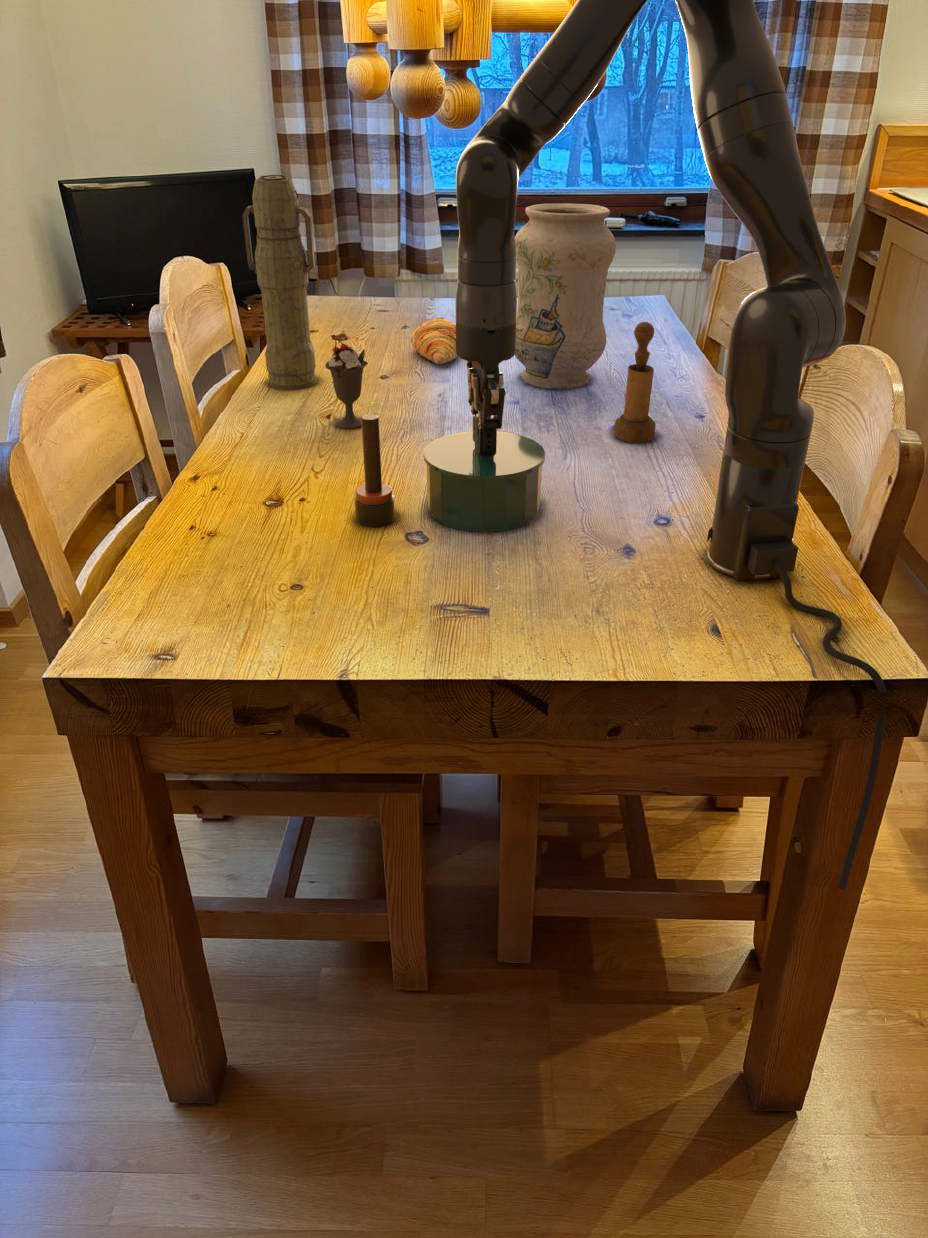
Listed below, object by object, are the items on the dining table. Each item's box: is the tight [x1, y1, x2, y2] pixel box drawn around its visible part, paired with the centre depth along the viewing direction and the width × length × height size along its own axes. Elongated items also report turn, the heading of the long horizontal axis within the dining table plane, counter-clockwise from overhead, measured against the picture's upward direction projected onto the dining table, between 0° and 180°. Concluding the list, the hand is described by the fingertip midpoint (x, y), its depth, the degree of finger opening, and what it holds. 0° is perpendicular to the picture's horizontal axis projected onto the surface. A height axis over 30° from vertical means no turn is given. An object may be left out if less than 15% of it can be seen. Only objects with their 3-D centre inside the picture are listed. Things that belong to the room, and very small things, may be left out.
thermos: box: [241, 174, 317, 390], centre depth 170 cm, size 9×12×35 cm
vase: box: [514, 203, 617, 390], centre depth 173 cm, size 18×18×30 cm
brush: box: [354, 413, 396, 528], centre depth 126 cm, size 5×5×14 cm
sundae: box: [325, 334, 369, 430], centre depth 157 cm, size 7×7×15 cm
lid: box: [423, 414, 546, 480], centre depth 127 cm, size 16×16×6 cm
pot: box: [426, 464, 543, 533], centre depth 130 cm, size 15×15×8 cm
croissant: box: [410, 317, 458, 365], centre depth 194 cm, size 21×10×8 cm, turn 7°
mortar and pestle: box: [613, 321, 657, 444], centre depth 151 cm, size 7×6×18 cm
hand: (484, 448), depth 128 cm, fingers open, 4 cm apart
